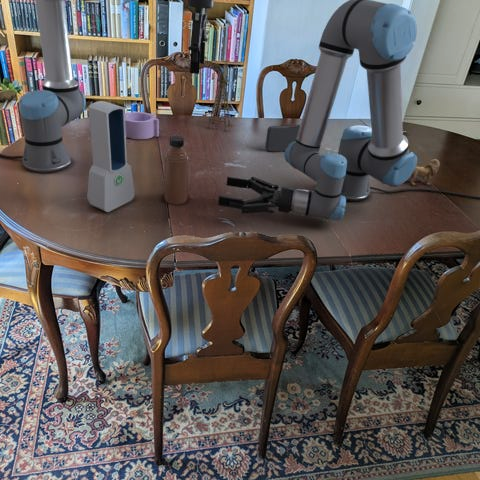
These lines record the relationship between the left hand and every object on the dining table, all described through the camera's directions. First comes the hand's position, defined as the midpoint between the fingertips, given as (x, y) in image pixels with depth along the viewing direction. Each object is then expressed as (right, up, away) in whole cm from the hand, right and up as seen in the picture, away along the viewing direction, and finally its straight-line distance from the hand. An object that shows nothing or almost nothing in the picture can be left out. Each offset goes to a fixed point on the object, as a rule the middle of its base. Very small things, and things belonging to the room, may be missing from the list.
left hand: (197, 68), depth 146 cm
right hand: (+8, -39, -4) cm, 40 cm away
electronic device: (-26, -43, -4) cm, 50 cm away
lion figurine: (+80, -32, +29) cm, 91 cm away
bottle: (-7, -41, +1) cm, 41 cm away
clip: (-30, -11, +44) cm, 55 cm away
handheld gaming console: (+34, -17, +46) cm, 60 cm away
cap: (-5, -24, -9) cm, 27 cm away
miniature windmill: (+4, -4, +61) cm, 61 cm away
